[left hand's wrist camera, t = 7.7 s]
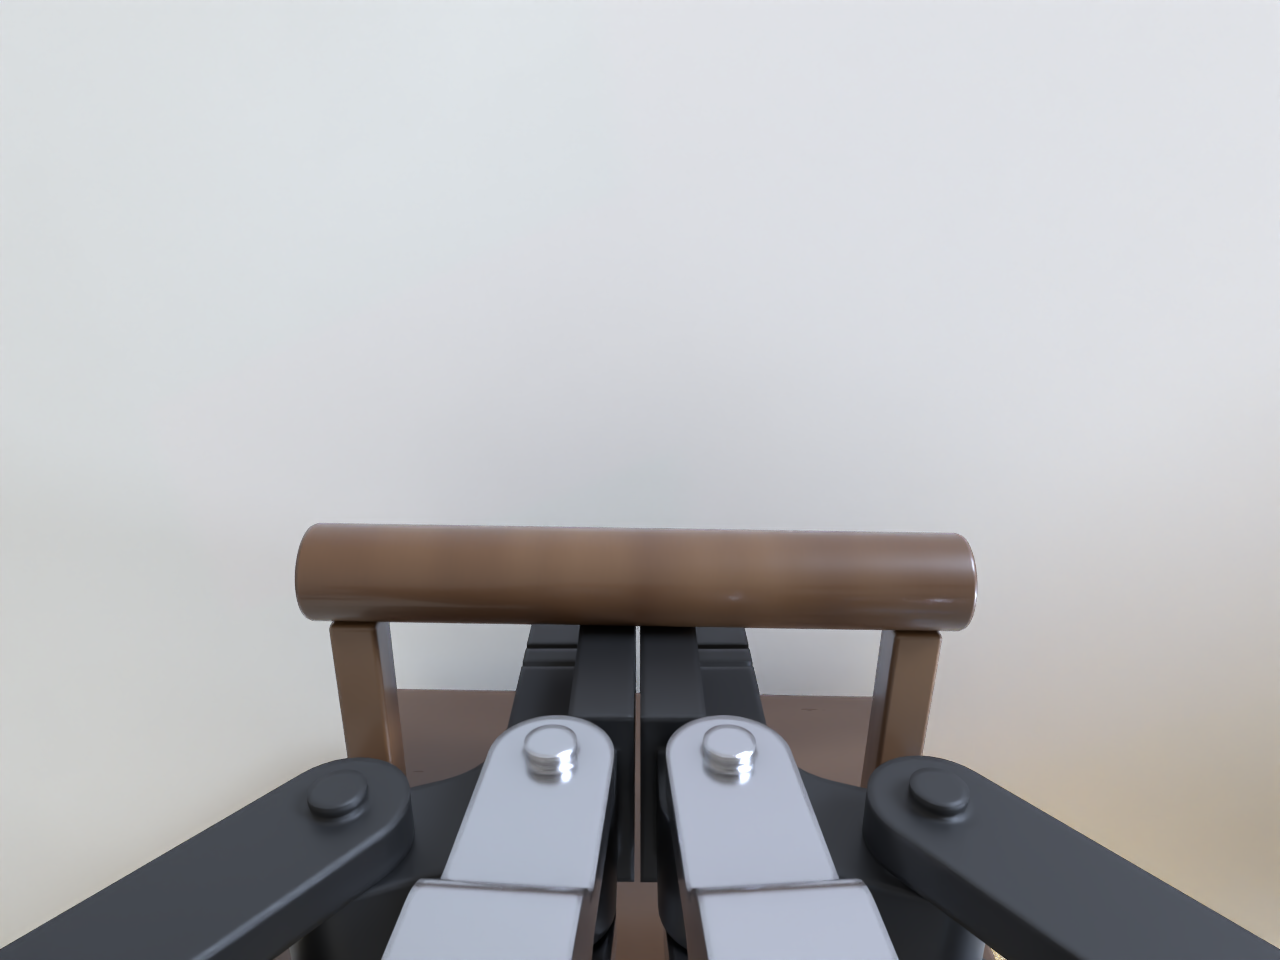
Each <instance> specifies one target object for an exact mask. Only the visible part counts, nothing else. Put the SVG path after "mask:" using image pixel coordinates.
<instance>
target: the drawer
mask: <svg viewBox="0 0 1280 960" xmlns="http://www.w3.org/2000/svg"><path fill="white" fill-rule="evenodd" d="M295 590H296V597H297V602H298V605H299V608H300V610H301V612H302V614H303V615H304V616H305V617H306V618H308V619H310V620H312V621H333V622H332V623H331V625H330V628H329V631H330V638H331V645H332V652H333V659H334V666H335V673H336V680H337V687H338V693H339V700H340V707H341V714H342V721H343V728H344V735H345V742H346V749H347V756H348V758H357V757H362V758H374V759H380V760H383V761H386V762H389V763H391V764H393V765H395V766H396V767H398V768H399V769H400V770H401V771H402V772H403V773H404V774H405V776H406V777H407V779H408V782H409V785H410V787H415V786H419V785H423V784H428V783H432V782H436V781H441V780H444V779H448V778H452V777H455V776H457V775H460V774H463V773H465V772H467V771H469V770H471V769H473V768H475V767H477V766H478V765H480V764H481V763H483V762H484V761H485V759H486V757H487V754H488V751H489V749H490V747H491V745H492V744H493V742H494V741H495V740H496V739H497V737H498V736H500V735H501V734H502V733H503V732H504V731H506V730H507V727H508V723H509V718H510V714H511V710H512V706H513V702H514V697H515V693H516V691H488V690H427V689H397V687H396V678H395V669H394V660H393V651H392V643H391V634H390V625H389V622H418V623H480V624H542V625H604V626H666V627H728V628H790V629H852V630H882V635H881V642H880V649H879V656H878V663H877V670H876V678H875V685H874V692H873V697H854V696H793V695H760V698H761V703H762V707H763V712H764V716H765V720H766V725H767V726H768V727H770V728H771V729H773V730H774V731H776V732H777V733H778V734H779V735H780V736H782V737H783V739H784V740H785V741H786V742H787V744H788V745H789V747H790V749H791V752H792V754H793V757H794V760H795V762H796V765H797V767H799V768H801V769H802V770H804V771H806V772H808V773H811V774H813V775H816V776H818V777H821V778H825V779H828V780H832V781H836V782H841V783H845V784H849V785H854V786H858V787H862V788H867V783H868V780H869V777H870V775H871V774H872V773H873V771H874V770H875V769H876V768H877V767H878V766H880V765H881V764H883V763H885V762H887V761H888V760H892V759H895V758H898V757H904V756H922V753H923V747H924V741H925V736H926V730H927V724H928V718H929V712H930V706H931V700H932V695H933V689H934V683H935V677H936V671H937V665H938V659H939V654H940V648H941V642H942V636H941V634H940V632H939V631H960V630H962V629H965V628H966V627H967V626H968V625H969V623H970V622H971V619H972V617H973V614H974V611H975V606H976V599H977V572H976V565H975V560H974V556H973V553H972V550H971V548H970V545H969V543H968V542H967V540H966V539H965V538H964V537H963V536H961V535H959V534H956V533H913V532H850V531H786V530H723V529H659V528H596V527H532V526H468V525H405V524H341V523H318V524H315V525H313V526H311V527H310V528H309V529H308V530H307V531H306V533H305V534H304V536H303V538H302V541H301V543H300V546H299V550H298V554H297V560H296V567H295ZM616 928H617V946H616V955H615V960H665V955H664V946H663V924H662V922H661V919H660V917H659V911H658V891H657V882H640V693H636V735H635V862H634V882H617V900H616ZM983 958H985V959H986V960H995V958H994V955H993V953H992V951H991V948H990V947H989V946H988V945H986V944H985V948H984V953H983ZM273 960H291V955H290V950H289V948H288V949H287V950H286V951H284V952H283V953H281V954H280V955H279V956H277V957H276V958H275V959H273Z"/></svg>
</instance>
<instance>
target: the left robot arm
mask: <svg viewBox="0 0 1280 960" xmlns="http://www.w3.org/2000/svg"><path fill="white" fill-rule="evenodd" d="M635 735H636V626H604V625H542V624H532V626H531V630H530V634H529V638H528V643H527V649H526V651H525V655H524V659H523V667H522V668H521V672H520V676H519V681H518V685H517V689H516V693H515V697H514V702H513V706H512V710H511V714H510V718H509V723H508V727H507V730H506V731H504V732H503V733H502V734H501V735H500V736H498V737H497V739H496V740H495V741H494V742H493V744H492V745H491V747H490V749H489V751H488V754H487V757H486V759H485V761H484V762H483V763H481V764H480V765H478V766H477V767H475V768H473V769H471V770H469V771H467V772H465V773H463V774H460V775H457V776H455V777H452V778H448V779H444V780H441V781H436V782H432V783H428V784H423V785H419V786H415V787H410V785H409V782H408V779H407V777H406V776H405V774H404V773H403V772H402V771H401V770H400V769H399V768H398V767H396V766H395V765H393V764H391V763H389V762H386V761H383V760H380V759H374V758H362V757H357V758H346V759H340V760H335V761H331V762H328V763H325V764H322V765H319V766H317V767H314V768H312V769H310V770H308V771H306V772H304V773H302V774H300V775H299V776H297V777H295V778H293V779H292V780H290V781H288V782H286V783H285V784H283V785H281V786H280V787H278V788H276V789H274V790H273V791H271V792H269V793H268V794H266V795H264V796H262V797H261V798H259V799H257V800H256V801H254V802H252V803H250V804H249V805H247V806H245V807H244V808H242V809H240V810H238V811H237V812H235V813H233V814H232V815H230V816H228V817H226V818H225V819H223V820H221V821H220V822H218V823H216V824H214V825H213V826H211V827H209V828H208V829H206V830H204V831H202V832H201V833H199V834H197V835H196V836H194V837H192V838H190V839H189V840H187V841H185V842H184V843H182V844H180V845H178V846H177V847H175V848H173V849H172V850H170V851H168V852H166V853H165V854H163V855H161V856H160V857H158V858H156V859H154V860H153V861H151V862H149V863H147V864H146V865H144V866H142V867H141V868H139V869H137V870H135V871H134V872H132V873H130V874H129V875H127V876H125V877H123V878H122V879H120V880H118V881H117V882H115V883H113V884H111V885H110V886H108V887H106V888H105V889H103V890H101V891H99V892H98V893H96V894H94V895H93V896H91V897H89V898H87V899H86V900H84V901H82V902H81V903H79V904H77V905H75V906H74V907H72V908H70V909H69V910H67V911H65V912H63V913H62V914H60V915H58V916H57V917H55V918H53V919H51V920H50V921H48V922H46V923H45V924H43V925H41V926H39V927H38V928H36V929H34V930H33V931H31V932H29V933H27V934H26V935H24V936H22V937H21V938H19V939H17V940H15V941H14V942H12V943H10V944H8V945H7V946H5V947H3V948H2V949H0V960H273V959H275V958H276V957H277V956H279V955H280V954H281V953H283V952H284V951H286V950H287V949H288V948H289V950H290V955H291V960H615V955H616V946H617V928H616V900H617V882H634V862H635ZM640 882H657V891H658V911H659V917H660V919H661V922H662V924H663V946H664V955H665V960H986V959H985V958H983V953H984V948H985V944H986V945H988V946H989V947H990V948H992V949H993V950H994V951H996V952H997V953H998V954H1000V955H1001V956H1003V957H1004V958H1005V959H1007V960H1280V949H1278V948H1277V947H1275V946H1273V945H1271V944H1270V943H1268V942H1266V941H1265V940H1263V939H1261V938H1259V937H1258V936H1256V935H1254V934H1253V933H1251V932H1249V931H1247V930H1246V929H1244V928H1242V927H1241V926H1239V925H1237V924H1235V923H1234V922H1232V921H1230V920H1229V919H1227V918H1225V917H1223V916H1222V915H1220V914H1218V913H1217V912H1215V911H1213V910H1211V909H1210V908H1208V907H1206V906H1205V905H1203V904H1201V903H1199V902H1198V901H1196V900H1194V899H1193V898H1191V897H1189V896H1187V895H1186V894H1184V893H1182V892H1181V891H1179V890H1177V889H1175V888H1174V887H1172V886H1170V885H1169V884H1167V883H1165V882H1163V881H1162V880H1160V879H1158V878H1157V877H1155V876H1153V875H1151V874H1150V873H1148V872H1146V871H1144V870H1143V869H1141V868H1139V867H1138V866H1136V865H1134V864H1132V863H1131V862H1129V861H1127V860H1126V859H1124V858H1122V857H1120V856H1119V855H1117V854H1115V853H1114V852H1112V851H1110V850H1108V849H1107V848H1105V847H1103V846H1102V845H1100V844H1098V843H1096V842H1095V841H1093V840H1091V839H1090V838H1088V837H1086V836H1084V835H1083V834H1081V833H1079V832H1078V831H1076V830H1074V829H1072V828H1071V827H1069V826H1067V825H1066V824H1064V823H1062V822H1060V821H1059V820H1057V819H1055V818H1054V817H1052V816H1050V815H1048V814H1047V813H1045V812H1043V811H1042V810H1040V809H1038V808H1036V807H1035V806H1033V805H1031V804H1030V803H1028V802H1026V801H1024V800H1023V799H1021V798H1019V797H1018V796H1016V795H1014V794H1012V793H1011V792H1009V791H1007V790H1005V789H1004V788H1002V787H1000V786H999V785H997V784H995V783H993V782H992V781H990V780H988V779H987V778H985V777H983V776H981V775H980V774H978V773H976V772H975V771H973V770H971V769H969V768H967V767H965V766H962V765H960V764H957V763H955V762H952V761H948V760H945V759H941V758H936V757H930V756H904V757H898V758H895V759H892V760H888V761H887V762H885V763H883V764H881V765H880V766H878V767H877V768H876V769H875V770H874V771H873V773H872V774H871V775H870V777H869V780H868V783H867V788H862V787H858V786H854V785H849V784H845V783H841V782H836V781H832V780H828V779H825V778H821V777H818V776H816V775H813V774H811V773H808V772H806V771H804V770H802V769H801V768H799V767H797V765H796V762H795V760H794V757H793V754H792V752H791V749H790V747H789V745H788V744H787V742H786V741H785V740H784V739H783V737H782V736H780V735H779V734H778V733H777V732H776V731H774V730H773V729H771V728H770V727H768V726H767V725H766V720H765V716H764V712H763V707H762V703H761V698H760V694H759V690H758V685H757V681H756V676H755V672H754V668H753V667H752V659H751V654H750V650H749V649H748V641H747V637H746V632H745V628H728V627H666V626H640Z"/></svg>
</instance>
